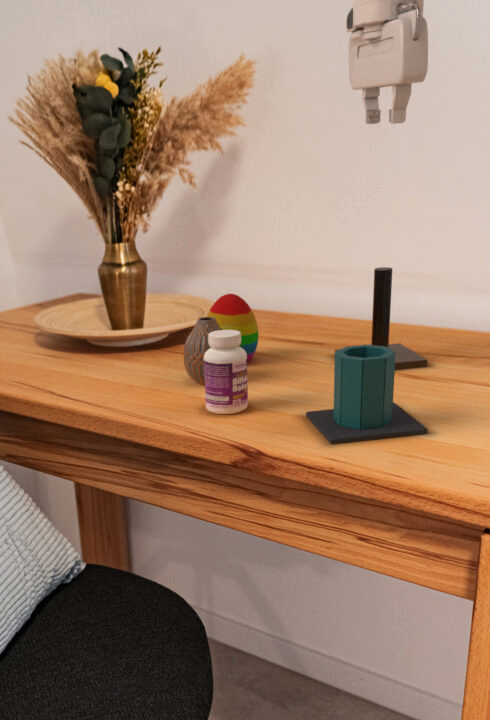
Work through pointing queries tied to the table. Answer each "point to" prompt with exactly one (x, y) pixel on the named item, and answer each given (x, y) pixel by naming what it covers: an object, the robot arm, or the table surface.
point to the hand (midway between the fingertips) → (384, 123)
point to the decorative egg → (237, 320)
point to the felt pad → (339, 434)
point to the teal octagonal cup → (364, 386)
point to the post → (382, 322)
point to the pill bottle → (225, 373)
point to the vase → (198, 348)
